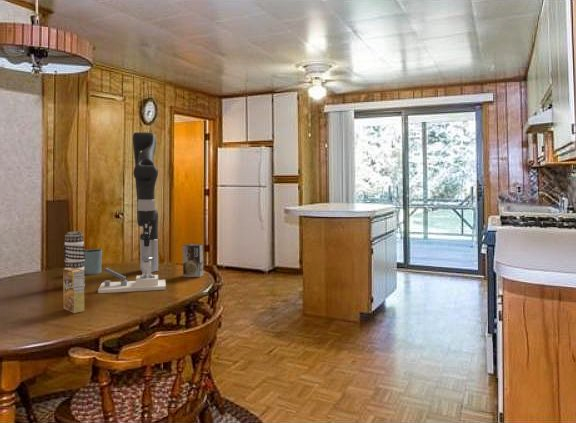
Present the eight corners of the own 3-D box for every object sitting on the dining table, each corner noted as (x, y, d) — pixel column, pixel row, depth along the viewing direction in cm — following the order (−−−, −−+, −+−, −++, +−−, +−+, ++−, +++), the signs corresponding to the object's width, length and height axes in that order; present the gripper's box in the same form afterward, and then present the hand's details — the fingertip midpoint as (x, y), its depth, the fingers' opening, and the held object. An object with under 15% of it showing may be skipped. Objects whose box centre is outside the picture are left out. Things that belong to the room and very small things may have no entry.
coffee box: (203, 274, 238) (203, 244, 237) (200, 277, 232) (200, 245, 231) (186, 274, 239) (186, 243, 238) (182, 277, 233) (182, 245, 232)
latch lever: (104, 269, 206) (106, 267, 206) (124, 279, 208) (126, 276, 208) (103, 271, 202) (105, 268, 202) (124, 281, 205) (125, 278, 205)
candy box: (62, 309, 171) (62, 268, 170) (74, 307, 174) (73, 267, 174) (73, 313, 166) (73, 271, 165) (85, 311, 169) (84, 269, 168)
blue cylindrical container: (106, 272, 244) (106, 250, 243) (89, 275, 235) (88, 252, 234) (94, 270, 249) (94, 248, 248) (77, 273, 241) (77, 250, 240)
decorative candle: (59, 287, 208) (57, 232, 206) (75, 283, 216) (74, 230, 215) (74, 289, 205) (73, 233, 203) (90, 284, 213) (89, 231, 212)
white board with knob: (102, 285, 211) (102, 276, 211) (165, 282, 219) (165, 273, 218) (98, 293, 197) (97, 282, 197) (165, 289, 204) (165, 279, 204)
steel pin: (141, 282, 211) (140, 256, 210) (153, 281, 213) (152, 256, 212) (141, 285, 206) (140, 258, 205) (153, 284, 208) (152, 258, 207)
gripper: (138, 208, 213) (138, 243, 214) (136, 210, 199) (137, 247, 200) (155, 208, 215) (155, 242, 216) (154, 210, 201) (155, 247, 202)
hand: (146, 245), depth 208 cm, fingers open, 8 cm apart
